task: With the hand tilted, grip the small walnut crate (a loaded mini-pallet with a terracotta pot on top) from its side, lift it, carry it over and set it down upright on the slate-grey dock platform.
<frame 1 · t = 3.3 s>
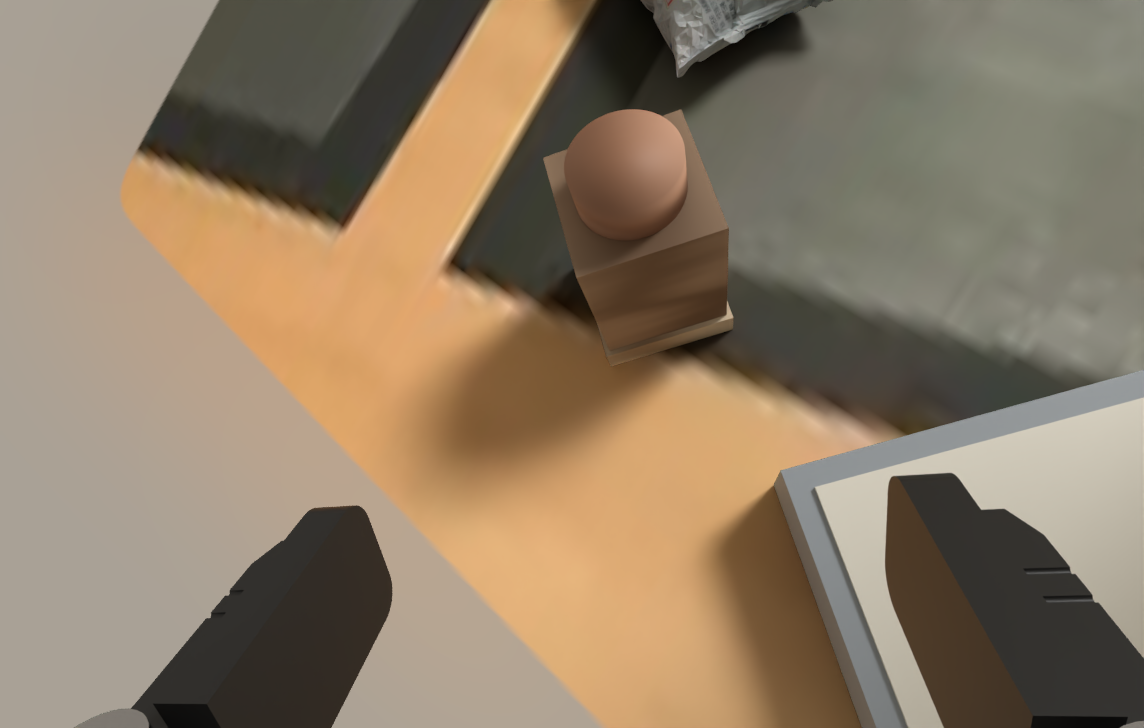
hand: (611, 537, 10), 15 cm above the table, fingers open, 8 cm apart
dock: (1007, 582, 21), on the table
packaged food: (701, 4, 32), on the table
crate: (653, 294, 27), on the table
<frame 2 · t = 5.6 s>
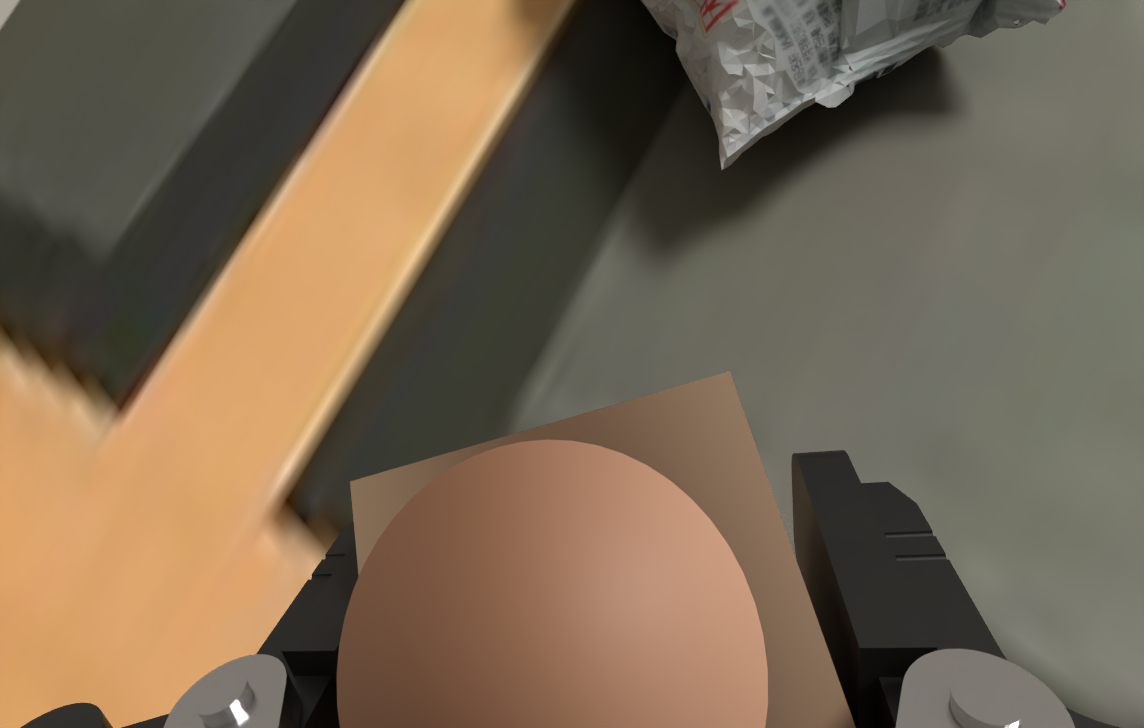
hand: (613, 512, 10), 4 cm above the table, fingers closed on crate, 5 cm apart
packaged food: (755, 24, 19), on the table
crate: (651, 618, 14), on the table, touching gripper
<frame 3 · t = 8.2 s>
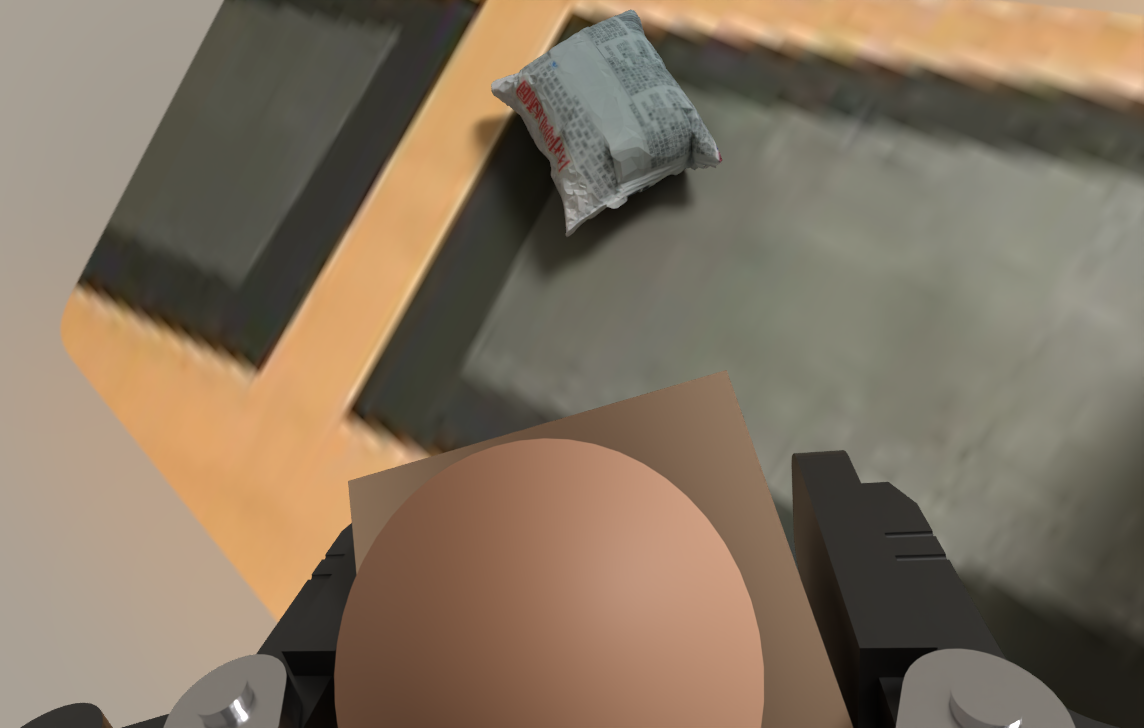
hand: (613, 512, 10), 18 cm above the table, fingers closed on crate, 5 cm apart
packaged food: (602, 150, 35), on the table
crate: (649, 617, 14), point 14 cm above the table, touching gripper
when the fingers open (9 cm above the table, at t = 10.9 s): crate drops 1 cm, resting on dock.
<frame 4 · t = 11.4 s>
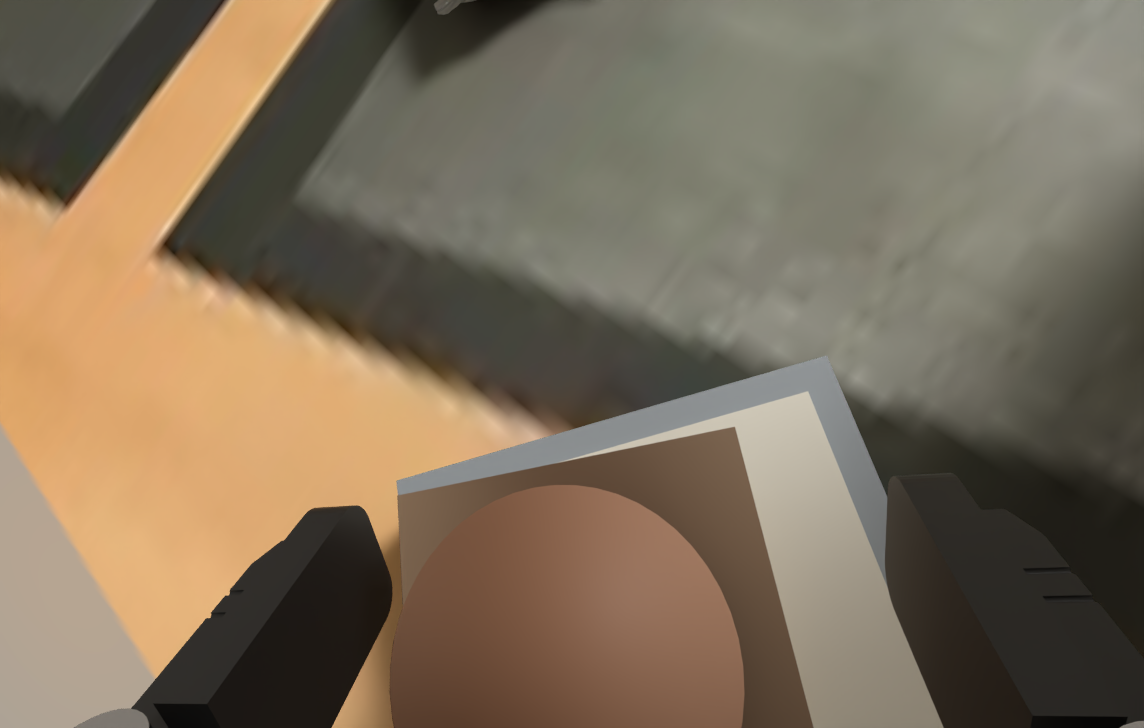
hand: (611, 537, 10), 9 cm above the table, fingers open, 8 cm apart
dock: (664, 613, 18), on the table
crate: (649, 624, 15), point 3 cm above the table, touching dock
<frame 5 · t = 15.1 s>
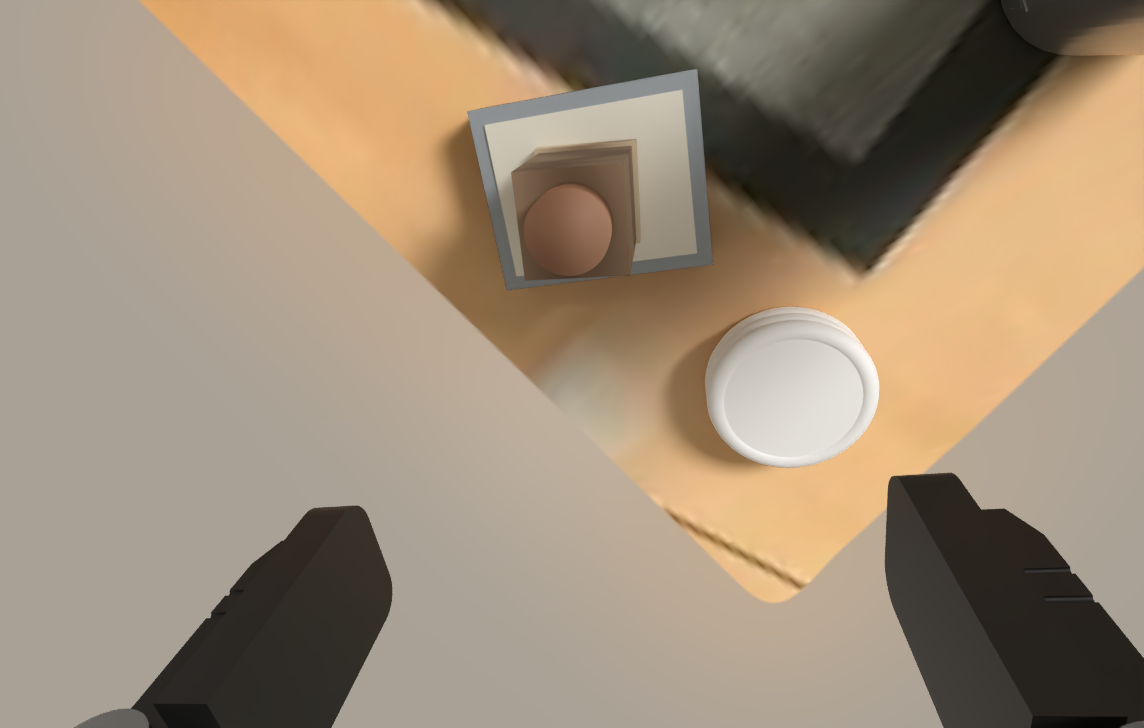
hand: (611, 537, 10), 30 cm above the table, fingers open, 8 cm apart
dock: (598, 181, 37), on the table
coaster: (782, 374, 41), on the table
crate: (590, 193, 34), point 3 cm above the table, touching dock
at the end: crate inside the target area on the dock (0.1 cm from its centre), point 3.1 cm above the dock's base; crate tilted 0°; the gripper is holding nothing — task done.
